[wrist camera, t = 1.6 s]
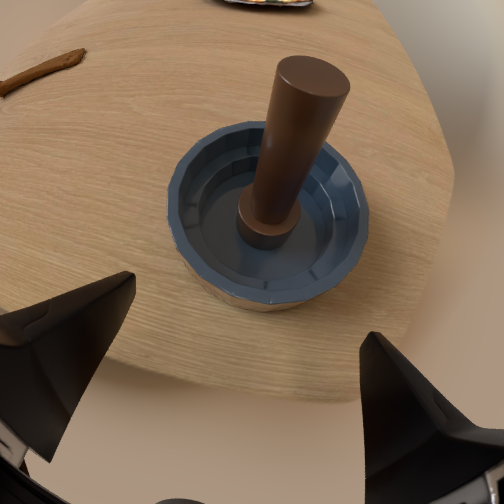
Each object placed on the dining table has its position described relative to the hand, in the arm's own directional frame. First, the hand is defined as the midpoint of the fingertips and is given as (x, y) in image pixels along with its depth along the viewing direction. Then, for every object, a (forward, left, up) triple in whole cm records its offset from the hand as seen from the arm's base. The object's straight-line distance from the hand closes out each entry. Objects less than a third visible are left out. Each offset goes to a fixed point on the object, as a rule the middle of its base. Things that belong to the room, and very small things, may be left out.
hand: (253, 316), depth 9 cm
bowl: (+8, -3, -11) cm, 13 cm away
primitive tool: (+41, +32, -11) cm, 53 cm away
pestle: (+8, -3, -10) cm, 13 cm away
